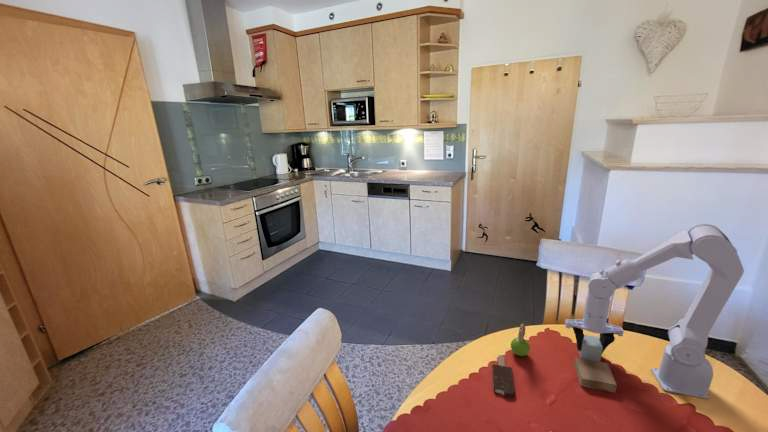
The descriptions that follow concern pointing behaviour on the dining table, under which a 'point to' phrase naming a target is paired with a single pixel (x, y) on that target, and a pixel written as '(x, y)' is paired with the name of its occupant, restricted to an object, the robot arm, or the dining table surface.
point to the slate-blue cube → (591, 348)
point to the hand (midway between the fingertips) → (589, 350)
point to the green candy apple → (520, 343)
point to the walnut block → (595, 375)
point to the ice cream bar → (503, 379)
